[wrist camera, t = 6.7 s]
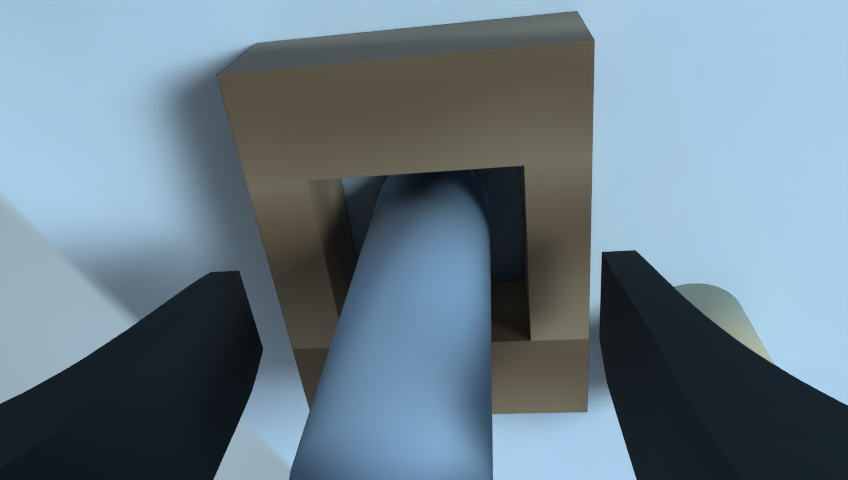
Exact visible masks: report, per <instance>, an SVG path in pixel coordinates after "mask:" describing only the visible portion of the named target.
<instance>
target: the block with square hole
mask: <svg viewBox="0 0 848 480" xmlns="http://www.w3.org/2000/svg"><path fill="white" fill-rule="evenodd" d="M594 42H595V40H594V38H593V37H592V35H591V33H590V32H589V30H588V28H587V27H586V25H585V23H584V22H583V20H582V18H581V17H580V15H579V13H578V12H577V11H574V12H564V13H554V14H544V15H534V16H524V17H514V18H504V19H494V20H484V21H474V22H464V23H454V24H444V25H434V26H424V27H413V28H403V29H393V30H383V31H373V32H363V33H353V34H343V35H333V36H323V37H313V38H303V39H293V40H283V41H273V42H263V43H256V44H255V45H254V46H253V47H251V48H250V49H249V50H248V51H246V52H245V53H244V54H243V55H241V56H240V57H239V58H238V59H236V60H235V61H234V62H232V63H231V64H230V65H229V66H227V67H226V68H225V69H224V70H222V71H221V72H220V73H219V74H217V75H216V76H217V80H218V83H219V87H220V91H221V94H222V98H223V101H224V105H225V109H226V112H227V116H228V119H229V123H230V127H231V130H232V134H233V137H234V141H235V144H236V148H237V152H238V155H239V159H240V162H241V166H242V170H243V173H244V177H245V180H246V184H247V187H248V191H249V195H250V198H251V202H252V205H253V209H254V213H255V216H256V220H257V223H258V227H259V230H260V234H261V238H262V241H263V245H264V248H265V252H266V256H267V259H268V263H269V266H270V270H271V273H272V277H273V281H274V284H275V288H276V291H277V295H278V299H279V302H280V306H281V309H282V313H283V316H284V320H285V324H286V327H287V331H288V334H289V338H290V342H291V345H292V349H293V352H294V356H295V359H296V363H297V367H298V370H299V374H300V377H301V381H302V385H303V388H304V392H305V395H306V399H307V402H308V406H309V410H310V409H311V406H312V403H313V400H314V396H315V393H316V390H317V387H318V384H319V381H320V378H321V375H322V371H323V368H324V365H325V362H326V359H327V356H328V353H329V350H330V346H331V343H332V340H333V337H334V334H335V331H336V328H337V325H338V321H339V318H340V315H341V312H342V309H343V306H344V303H345V300H346V297H347V293H348V290H349V287H350V284H351V281H352V278H353V275H354V272H355V268H356V265H357V258H356V253H355V248H354V243H353V237H352V232H351V227H350V222H349V217H348V212H347V207H346V202H345V197H344V192H343V187H342V181H341V178H353V177H367V176H381V175H396V174H410V173H424V172H439V171H453V170H467V169H482V168H496V167H510V166H521V187H522V211H523V235H524V259H525V280H509V281H491V356H492V414H511V413H561V412H587V403H588V352H589V300H590V249H591V197H592V145H593V94H594Z"/></svg>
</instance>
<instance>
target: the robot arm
mask: <svg viewBox="0 0 848 480" xmlns="http://www.w3.org/2000/svg"><path fill="white" fill-rule="evenodd" d="M599 338H600V344H601V350H602V356H603V362H604V368H605V374H606V379H607V384H608V387H609V391H610V394H611V398H612V401H613V404H614V407H615V411H616V414H617V417H618V421H619V424H620V427H621V430H622V434H623V437H624V440H625V443H626V447H627V450H628V453H629V456H630V459H631V463H632V466H633V469H634V472H635V476H636V479H637V480H848V406H847V405H845V404H843V403H841V402H839V401H838V400H836V399H834V398H832V397H830V396H828V395H826V394H825V393H823V392H821V391H819V390H817V389H815V388H813V387H811V386H810V385H808V384H806V383H804V382H802V381H801V380H799V379H797V378H795V377H794V376H792V375H790V374H789V373H787V372H785V371H783V370H782V369H780V368H779V367H777V366H776V365H774V364H773V363H771V362H769V361H768V360H766V359H765V358H763V357H762V356H760V355H759V354H757V353H755V352H754V351H752V350H751V349H749V348H748V347H747V346H745V345H744V344H742V343H741V342H739V341H738V340H737V339H735V338H734V337H733V336H731V335H730V334H729V333H727V332H726V331H725V330H724V329H722V328H721V327H720V326H718V325H717V324H716V323H714V322H713V321H712V320H711V319H709V318H708V317H707V316H706V315H704V314H703V313H702V312H701V311H700V310H699V309H698V308H696V307H695V306H694V305H693V304H692V303H691V302H690V301H688V300H687V299H686V298H685V297H684V296H683V295H682V294H681V293H679V292H678V291H677V290H676V289H675V288H674V287H673V286H672V285H671V284H670V283H669V282H668V281H667V280H666V279H665V278H664V277H663V276H661V275H660V274H659V273H658V272H657V271H656V270H655V269H654V268H653V267H652V266H651V265H650V264H649V263H648V262H647V261H646V260H645V259H644V258H643V257H642V256H641V255H640V254H639V253H638V252H637V251H635V250H634V251H614V252H602V268H601V301H600V335H599ZM262 352H263V347H262V344H261V340H260V337H259V334H258V331H257V328H256V324H255V321H254V318H253V315H252V311H251V308H250V305H249V302H248V298H247V295H246V292H245V289H244V285H243V282H242V279H241V276H240V272H239V271H226V272H210V273H209V274H207V275H205V276H203V277H202V278H200V279H199V280H197V281H196V282H194V283H193V284H191V285H190V286H188V287H187V288H185V289H184V290H182V291H181V292H180V293H178V294H177V295H175V296H174V297H173V298H171V299H170V300H168V301H167V302H166V303H164V304H163V305H161V306H160V307H159V308H157V309H156V310H154V311H153V312H152V313H150V314H149V315H147V316H146V317H145V318H143V319H142V320H140V321H139V322H138V323H136V324H135V325H133V326H132V327H130V328H129V329H128V330H126V331H125V332H123V333H121V334H120V335H119V336H117V337H116V338H114V339H112V340H111V341H110V342H108V343H106V344H105V345H104V346H102V347H101V348H99V349H97V350H96V351H94V352H93V353H91V354H90V355H88V356H87V357H86V358H84V359H82V360H80V361H79V362H77V363H75V364H74V365H72V366H70V367H69V368H67V369H65V370H64V371H62V372H60V373H58V374H57V375H55V376H53V377H51V378H49V379H48V380H46V381H44V382H42V383H41V384H39V385H37V386H35V387H33V388H31V389H30V390H28V391H26V392H24V393H22V394H20V395H18V396H16V397H14V398H11V399H9V400H7V401H5V402H3V403H1V404H0V480H213V479H214V477H215V475H216V472H217V470H218V468H219V466H220V463H221V461H222V459H223V456H224V454H225V452H226V450H227V447H228V445H229V443H230V441H231V438H232V436H233V434H234V432H235V429H236V427H237V425H238V423H239V420H240V418H241V416H242V413H243V411H244V409H245V406H246V404H247V402H248V399H249V397H250V394H251V392H252V389H253V385H254V382H255V378H256V375H257V371H258V367H259V363H260V359H261V356H262Z"/></svg>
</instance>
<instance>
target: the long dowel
mask: <svg viewBox="0 0 848 480" xmlns="http://www.w3.org/2000/svg"><path fill="white" fill-rule="evenodd" d="M289 480H493V456H492V356H491V256H490V201H489V196H488V192H487V190H486V188H485V185H484V184H483V182H482V181H481V179H480V178H479V177H478V176H477V174H476V173H475V172H474V171H472V170H471V169H467V170H453V171H439V172H424V173H410V174H396V175H389V176H388V177H387V178H386V180H385V182H384V183H383V185H382V188H381V191H380V194H379V197H378V200H377V203H376V206H375V209H374V212H373V215H372V218H371V222H370V225H369V228H368V231H367V234H366V237H365V240H364V243H363V247H362V250H361V253H360V256H359V259H358V262H357V265H356V268H355V272H354V275H353V278H352V281H351V284H350V287H349V290H348V293H347V297H346V300H345V303H344V306H343V309H342V312H341V315H340V318H339V321H338V325H337V328H336V331H335V334H334V337H333V340H332V343H331V346H330V350H329V353H328V356H327V359H326V362H325V365H324V368H323V371H322V375H321V378H320V381H319V384H318V387H317V390H316V393H315V396H314V400H313V403H312V406H311V409H310V412H309V415H308V418H307V421H306V424H305V428H304V431H303V434H302V437H301V440H300V443H299V446H298V449H297V453H296V456H295V459H294V462H293V465H292V468H291V472H290V478H289Z"/></svg>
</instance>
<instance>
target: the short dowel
mask: <svg viewBox="0 0 848 480" xmlns="http://www.w3.org/2000/svg"><path fill="white" fill-rule="evenodd" d="M674 288H675V289H676V290H677V291H678V292H679V293H681V294H682V295H683V296H684V297H685V298H686V299H687V300H688V301H690V302H691V303H692V304H693V305H694V306H695V307H696V308H698V309H699V310H700V311H701V312H702V313H703V314H704V315H706V316H707V317H708V318H709V319H711V320H712V321H713V322H714V323H716V324H717V325H718V326H720V327H721V328H722V329H724V330H725V331H726V332H727V333H729V334H730V335H731V336H733V337H734V338H735V339H737V340H738V341H739V342H741V343H742V344H744V345H745V346H747V347H748V348H749V349H751V350H752V351H754V352H755V353H757V354H759V355H760V356H762V357H763V358H765V359H766V360H768V361H769V362H771V363H773V361H772V360H771V358H770V356H769V354H768V353H767V351H766V349H765V347H764V346H763V344H762V342H761V340H760V339H759V337H758V335H757V333H756V332H755V330H754V328H753V326H752V325H751V323H750V321H749V319H748V318H747V316H746V314H745V312H744V311H743V309H742V307H741V305H740V304H739V302H738V301H737V300H736V298H735V297H734V296H733V295H731V294H730V293H729V292H727V291H725V290H723V289H721V288H719V287H716V286H712V285H707V284H686V285H681V286H677V287H674ZM773 364H774V363H773Z"/></svg>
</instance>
